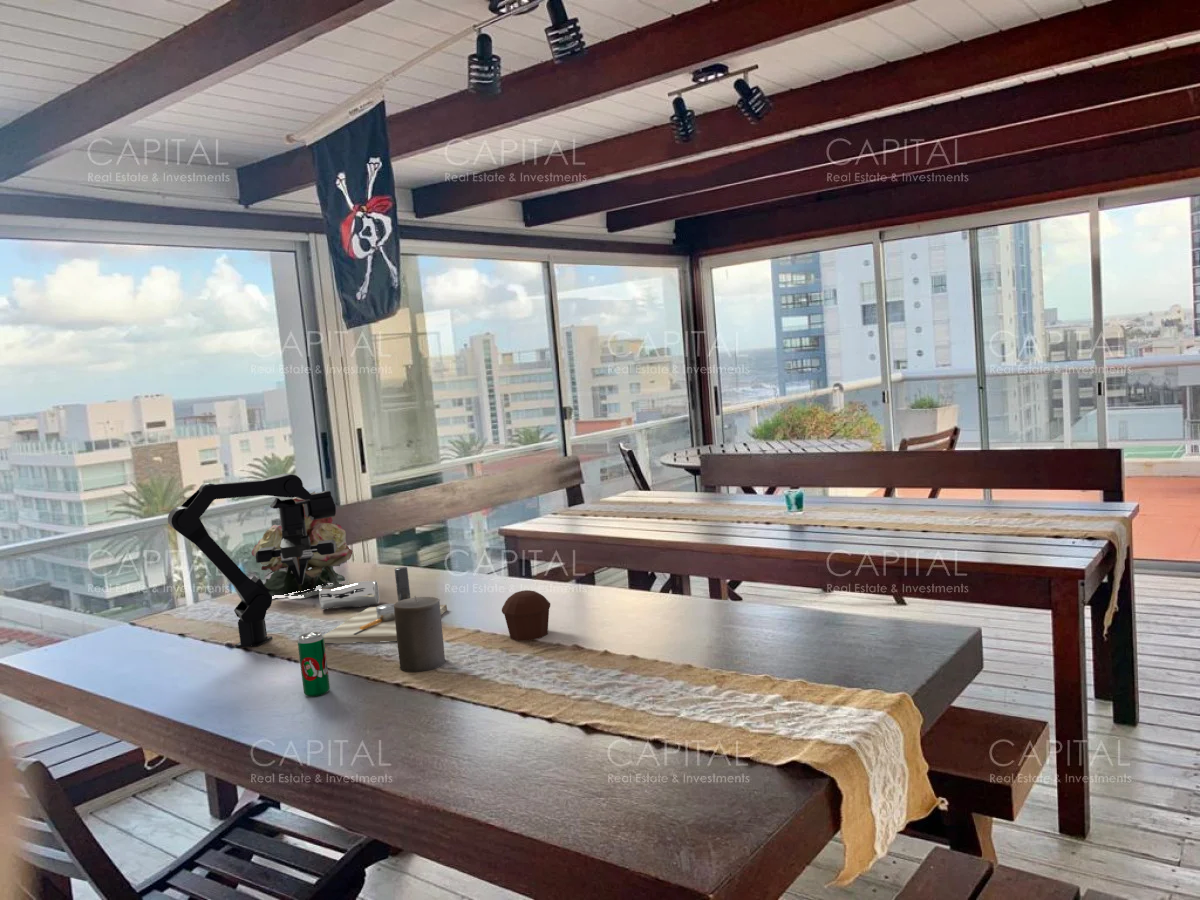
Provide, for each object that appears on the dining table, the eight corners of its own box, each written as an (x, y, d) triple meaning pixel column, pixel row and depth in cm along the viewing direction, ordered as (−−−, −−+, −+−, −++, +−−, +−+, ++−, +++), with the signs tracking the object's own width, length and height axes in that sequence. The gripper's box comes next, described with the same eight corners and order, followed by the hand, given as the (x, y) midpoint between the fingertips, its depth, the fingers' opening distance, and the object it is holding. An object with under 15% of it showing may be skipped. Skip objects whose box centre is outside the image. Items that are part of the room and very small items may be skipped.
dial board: (406, 641, 210) (405, 634, 210) (320, 643, 215) (319, 636, 215) (447, 610, 236) (446, 603, 236) (369, 612, 240) (368, 606, 240)
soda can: (321, 686, 184) (314, 629, 183) (335, 690, 181) (328, 632, 180) (299, 695, 180) (291, 636, 179) (313, 699, 177) (306, 640, 176)
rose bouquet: (247, 604, 263) (234, 503, 260) (302, 579, 291) (291, 487, 288) (326, 602, 257) (314, 498, 254) (374, 576, 285) (364, 483, 282)
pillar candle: (400, 675, 187) (393, 604, 185) (398, 661, 196) (391, 594, 195) (448, 667, 189) (441, 598, 188) (443, 654, 199) (437, 587, 197)
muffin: (497, 634, 210) (492, 592, 209) (540, 624, 215) (536, 583, 214) (516, 646, 200) (511, 602, 199) (561, 635, 205) (557, 592, 204)
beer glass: (320, 613, 244) (376, 606, 245) (317, 587, 244) (373, 580, 246) (326, 610, 251) (380, 603, 252) (323, 585, 251) (377, 578, 253)
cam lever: (369, 630, 217) (364, 585, 216) (353, 628, 219) (348, 584, 218) (417, 608, 233) (412, 567, 232) (401, 608, 235) (397, 566, 234)
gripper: (247, 533, 216) (255, 597, 217) (327, 524, 219) (335, 586, 220) (256, 526, 227) (264, 586, 228) (333, 517, 230) (340, 577, 231)
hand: (300, 584), depth 227 cm, fingers closed
